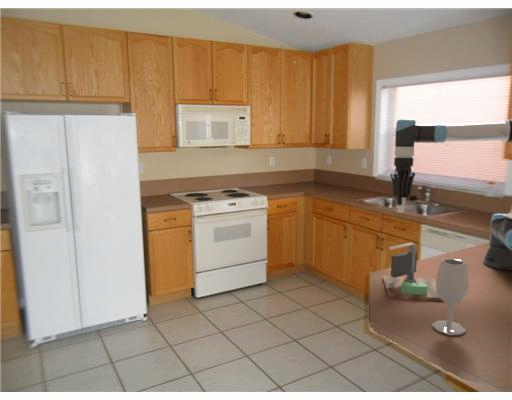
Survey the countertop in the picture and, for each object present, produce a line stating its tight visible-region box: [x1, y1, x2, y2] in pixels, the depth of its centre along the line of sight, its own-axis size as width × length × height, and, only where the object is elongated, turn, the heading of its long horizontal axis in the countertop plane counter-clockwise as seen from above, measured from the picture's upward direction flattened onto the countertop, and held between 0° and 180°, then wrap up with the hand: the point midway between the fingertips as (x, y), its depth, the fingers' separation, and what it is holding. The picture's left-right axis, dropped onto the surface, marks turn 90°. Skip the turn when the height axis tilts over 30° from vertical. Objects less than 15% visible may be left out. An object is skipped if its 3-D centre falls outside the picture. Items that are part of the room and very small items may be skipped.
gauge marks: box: [385, 281, 428, 295], centre depth 149 cm, size 14×5×3 cm, turn 61°
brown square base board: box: [382, 275, 443, 302], centre depth 153 cm, size 19×20×1 cm
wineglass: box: [431, 258, 470, 337], centre depth 120 cm, size 9×9×21 cm
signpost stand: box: [389, 242, 418, 283], centre depth 154 cm, size 14×4×15 cm, turn 121°
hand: (401, 212), depth 175 cm, fingers closed
